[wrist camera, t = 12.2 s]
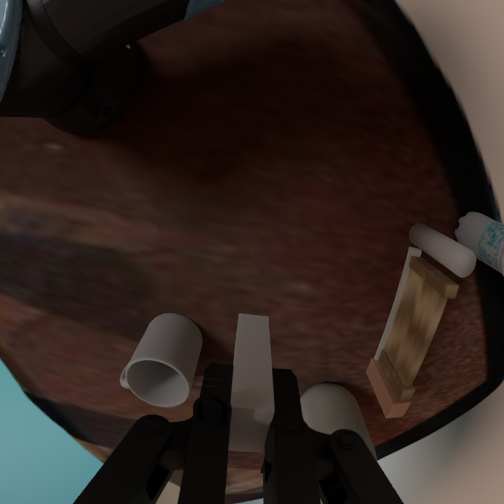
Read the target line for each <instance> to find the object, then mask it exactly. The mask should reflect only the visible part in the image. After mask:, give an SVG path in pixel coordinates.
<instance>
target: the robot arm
mask: <svg viewBox="0 0 504 504" xmlns="http://www.w3.org/2000/svg"><path fill="white" fill-rule="evenodd" d="M223 1H224V0H0V117H33V118H43V119H45V120H46V121H47V122H49V123H50V124H51V125H53V126H54V127H56V128H57V129H59V130H61V131H64V132H67V133H75V134H86V133H92V132H95V131H98V130H101V129H103V128H105V127H106V126H108V125H110V124H111V123H112V122H114V121H115V120H116V119H117V118H118V117H119V116H120V115H121V114H122V113H123V112H124V111H125V109H126V108H127V107H128V105H129V104H130V102H131V100H132V99H133V97H134V95H135V92H136V90H137V87H138V84H139V80H140V73H141V63H140V57H139V54H138V51H137V49H136V47H135V45H134V44H133V42H135V41H137V40H139V39H141V38H143V37H145V36H147V35H149V34H151V33H154V32H156V31H158V30H160V29H162V28H165V27H167V26H169V25H172V24H174V23H176V22H179V21H180V22H184V21H186V20H188V19H189V18H190V16H193V15H195V14H198V13H200V12H202V11H205V10H207V9H210V8H213V7H215V6H217V5H219V4H221V3H222V2H223ZM264 448H265V458H264V461H263V465H262V468H261V472H260V473H263V500H264V504H321V501H322V503H323V504H404V503H403V502H402V500H401V499H400V497H399V496H398V494H397V492H396V491H395V489H394V488H393V487H392V484H391V483H390V481H389V480H388V478H387V477H386V475H385V474H384V472H383V470H382V469H381V467H380V466H379V464H378V463H377V461H376V459H375V458H374V456H373V455H372V453H371V451H370V450H369V448H368V447H367V445H366V443H365V442H364V440H363V439H362V437H361V436H360V435H359V434H358V433H356V432H355V431H353V430H349V429H339V430H336V431H334V432H333V433H332V434H331V435H330V434H326V433H322V432H318V431H315V430H313V429H312V428H310V427H309V426H308V424H307V423H306V422H305V421H304V419H303V414H302V408H301V402H300V395H299V389H298V383H297V377H296V376H295V374H294V373H293V372H292V370H290V369H275V368H272V364H271V349H270V335H269V321H268V317H267V316H257V315H248V314H239V318H238V327H237V335H236V344H235V353H234V363H233V365H226V364H218V363H211V364H210V365H209V366H208V367H207V368H206V369H205V374H204V379H203V383H202V388H201V393H200V398H198V399H197V400H196V401H195V403H194V405H193V416H192V417H191V418H190V419H187V420H185V421H180V422H169V421H168V420H167V419H166V418H164V417H162V416H159V415H146V416H143V417H141V418H140V419H139V420H137V421H136V423H135V424H134V425H133V427H132V428H131V429H130V431H129V432H128V433H127V434H126V436H125V437H124V438H123V440H122V441H121V442H120V444H119V445H118V446H117V447H116V449H115V450H114V451H113V453H112V454H111V455H110V457H109V458H108V459H107V460H106V462H105V463H104V464H103V466H102V467H101V468H100V469H99V471H98V472H97V473H96V475H95V476H94V477H93V479H92V480H91V481H90V482H89V484H88V485H87V486H86V488H85V489H84V490H83V492H82V493H81V494H80V495H79V496H78V498H77V499H76V500H75V502H74V503H73V504H156V502H157V500H158V499H159V497H160V495H161V493H162V492H163V490H164V488H165V487H166V485H167V483H168V481H169V480H170V478H171V476H172V474H173V472H174V471H175V470H182V469H184V470H183V475H182V481H181V486H180V492H179V497H178V503H177V504H224V502H225V488H226V475H227V462H228V450H232V451H244V452H258V453H263V452H264ZM320 499H321V501H320Z"/></svg>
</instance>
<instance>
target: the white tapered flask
mask: <svg viewBox="0 0 504 504" xmlns="http://www.w3.org/2000/svg"><path fill="white" fill-rule="evenodd" d="M300 402H301V408H302V414H303V419H304V421H305V422H306V423H307V424H308V426H309V427H310V428H312V429H313V430H315V431H318V432H322V433H326V434H330V435H331V434H332V433H333V432H334V431H336V430H339V429H349V430H353V431H355V432H356V433H358V434H359V435H360V436H361V437H362V439H363V440H364V442H365V443H366V445H367V447H368V448H369V450H370V451H371V453H372V455H373V456H374V458H375V459H376V461H377V457H376V453H375V449H374V446H373V443H372V440H371V437H370V435H369V432H368V429H367V427H366V424H365V421H364V418H363V416H362V413H361V410H360V408H359V405H358V403H357V401H356V399H355V398H354V396H353V395H352V394H351V393H350V392H349V391H348V390H347V389H346V388H344V387H342V386H340V385H337V384H332V383H322V384H317V385H315V386H313V387H311V388H309V389H308V390H306V392H305V393H304V394H303V395H302V397H301V398H300ZM320 501H321V499H320ZM321 504H323V503H322V501H321Z"/></svg>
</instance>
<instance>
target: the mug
mask: <svg viewBox="0 0 504 504" xmlns="http://www.w3.org/2000/svg"><path fill="white" fill-rule="evenodd" d="M202 343H203V340H202V334H201V332H200V330H199V328H198V327H197V325H196V324H195V323H194V322H193V321H191V320H190V319H189V318H187V317H185V316H183V315H180V314H175V313H165V314H161V315H159V316H157V317H156V318H154V319H153V320H152V321H151V323H150V324H149V326H148V328H147V330H146V332H145V334H144V336H143V338H142V339H141V341H140V343H139V345H138V347H137V349H136V351H135V352H134V354H133V356H132V358H131V360H130V362H129V363H128V364H127V365H126V367H125V368H124V370H123V372H122V374H121V377H120V383H121V385H122V386H123V387H124V388H126V389H129V388H130V389H131V390H132V392H133V393H134V394H135V395H136V396H138V397H139V398H140V399H142V400H143V401H145V402H147V403H149V404H152V405H155V406H159V407H174V406H177V405H180V404H182V403H183V402H184V401H185V400H186V399H187V398H188V396H189V394H190V391H191V387H192V383H193V379H194V375H195V371H196V367H197V363H198V359H199V355H200V352H201V348H202Z"/></svg>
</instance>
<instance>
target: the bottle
mask: <svg viewBox="0 0 504 504" xmlns="http://www.w3.org/2000/svg"><path fill="white" fill-rule="evenodd" d="M458 222H459V228H458V229H456V230H455V236H456V238H457V242H458V243H459V244H461V245H463V246H465V247H466V248H468V249H470V250H472V251H473V252H474V253H475V255H476V258H477V259H479V260H481V261H483V262H484V263H486V264H487V265H489V266H491V267H492V268H494V269H495V270H497V271H499V272H500V273H502V274H503V276H504V224H502V223H499V222H497V221H495V220H493V219H491V218H489V217H487V216H485V215H483V214H481V213H477V212H468V213H467V214H466V216H464V217H461V218H460V219H459V220H458Z"/></svg>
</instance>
